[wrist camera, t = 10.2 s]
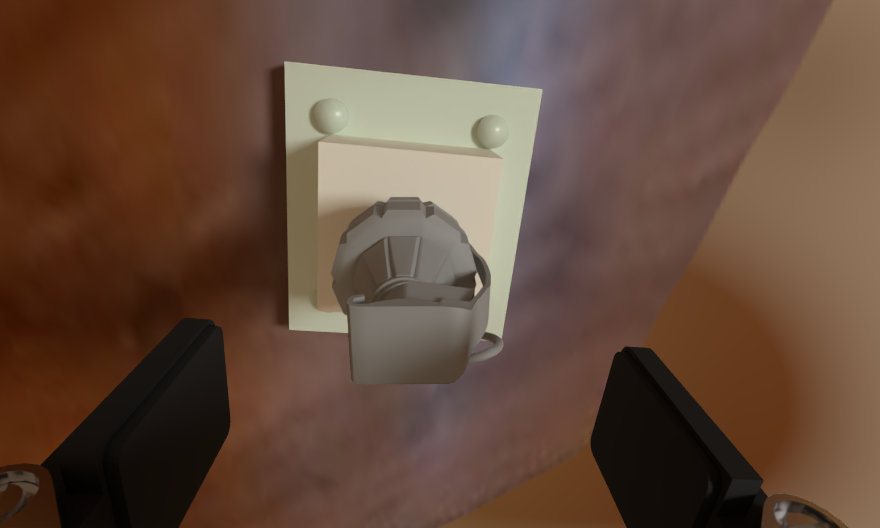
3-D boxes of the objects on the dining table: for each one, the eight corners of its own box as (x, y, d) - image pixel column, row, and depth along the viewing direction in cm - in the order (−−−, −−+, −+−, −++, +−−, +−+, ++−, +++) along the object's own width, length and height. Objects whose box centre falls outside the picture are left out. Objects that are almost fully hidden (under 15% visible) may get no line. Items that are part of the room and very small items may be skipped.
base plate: (291, 62, 26) (282, 60, 24) (535, 89, 27) (544, 89, 25) (294, 318, 31) (287, 332, 29) (497, 330, 32) (502, 344, 31)
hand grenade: (350, 289, 25) (308, 430, 14) (344, 180, 23) (290, 254, 12) (470, 287, 25) (514, 424, 15) (475, 180, 23) (529, 253, 13)
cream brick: (331, 134, 26) (318, 141, 22) (489, 149, 26) (503, 159, 23) (329, 282, 29) (317, 310, 25) (471, 291, 30) (479, 320, 26)
